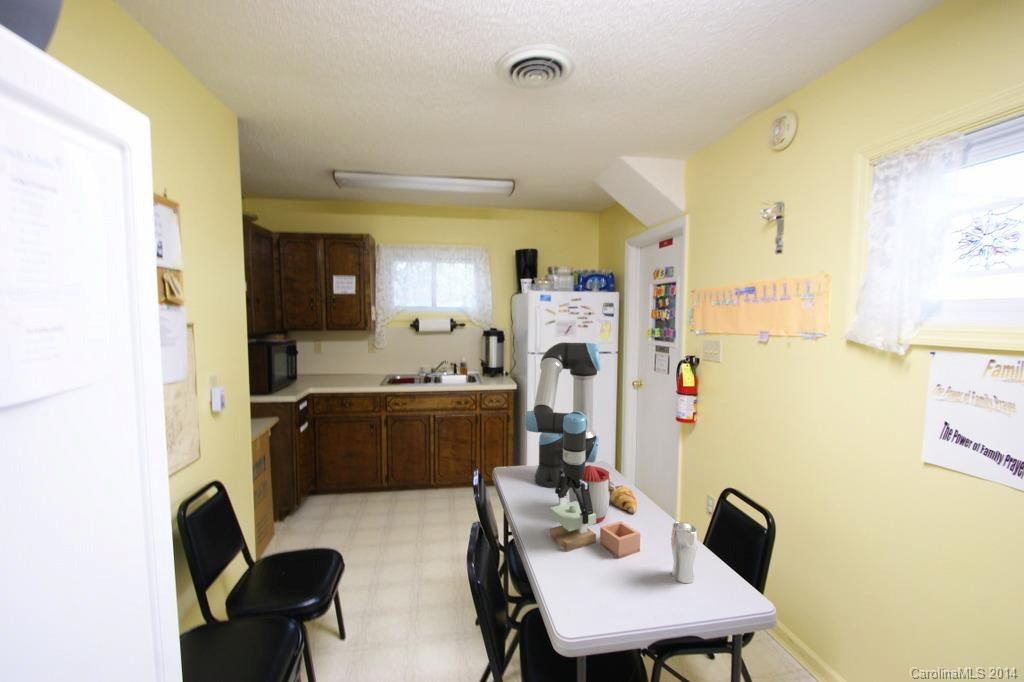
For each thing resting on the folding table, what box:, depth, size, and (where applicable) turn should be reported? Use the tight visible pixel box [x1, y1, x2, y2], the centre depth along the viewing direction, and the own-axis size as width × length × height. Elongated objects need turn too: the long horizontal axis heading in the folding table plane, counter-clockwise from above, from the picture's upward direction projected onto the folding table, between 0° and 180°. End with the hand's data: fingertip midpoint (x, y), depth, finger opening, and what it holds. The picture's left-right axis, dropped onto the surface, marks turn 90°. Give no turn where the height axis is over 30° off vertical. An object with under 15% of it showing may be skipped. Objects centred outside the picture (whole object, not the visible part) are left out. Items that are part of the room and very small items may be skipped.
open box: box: [599, 520, 641, 560], centre depth 136 cm, size 9×9×6 cm
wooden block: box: [548, 524, 597, 552], centre depth 140 cm, size 10×12×3 cm
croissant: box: [609, 485, 638, 514], centre depth 168 cm, size 21×10×8 cm, turn 13°
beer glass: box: [670, 521, 698, 584], centre depth 120 cm, size 7×7×15 cm
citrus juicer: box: [568, 464, 615, 524], centre depth 156 cm, size 16×17×20 cm
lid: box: [549, 501, 597, 531], centre depth 140 cm, size 11×11×4 cm
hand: (572, 523), depth 141 cm, fingers closed on lid, 11 cm apart
